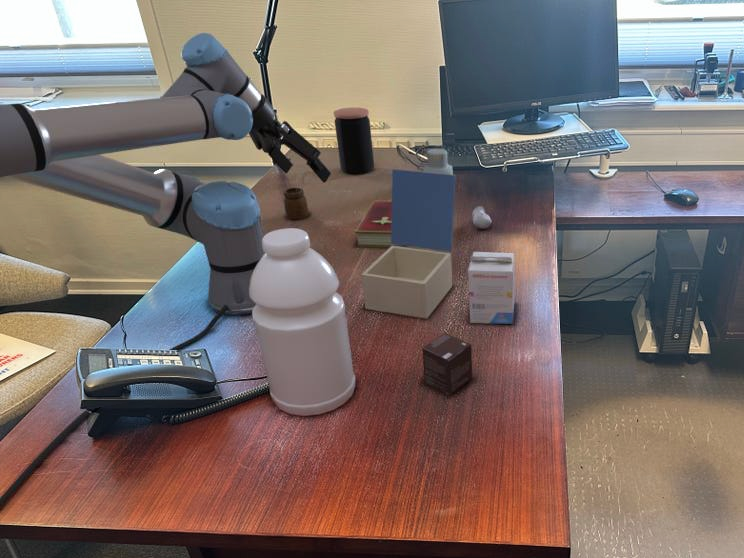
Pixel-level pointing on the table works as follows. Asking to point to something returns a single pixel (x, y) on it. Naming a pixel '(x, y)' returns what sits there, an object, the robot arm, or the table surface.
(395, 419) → the table surface
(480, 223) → the white bust figurine
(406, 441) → the table surface
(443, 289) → the storage box
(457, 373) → the box
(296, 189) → the utensil holder
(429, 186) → the storage box lid
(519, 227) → the table surface
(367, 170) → the coffee jar
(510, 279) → the ink box
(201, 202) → the robot arm
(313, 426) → the table surface
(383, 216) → the hardcover book
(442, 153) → the air freshener
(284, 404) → the bottle
